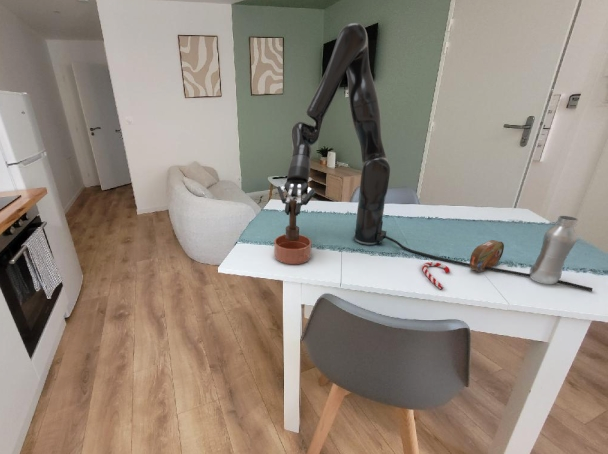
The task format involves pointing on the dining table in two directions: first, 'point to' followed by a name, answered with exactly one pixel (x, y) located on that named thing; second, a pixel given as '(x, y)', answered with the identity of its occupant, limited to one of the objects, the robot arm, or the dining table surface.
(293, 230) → the pestle
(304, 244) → the bowl
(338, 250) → the dining table surface
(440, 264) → the candy cane
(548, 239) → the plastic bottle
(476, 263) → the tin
